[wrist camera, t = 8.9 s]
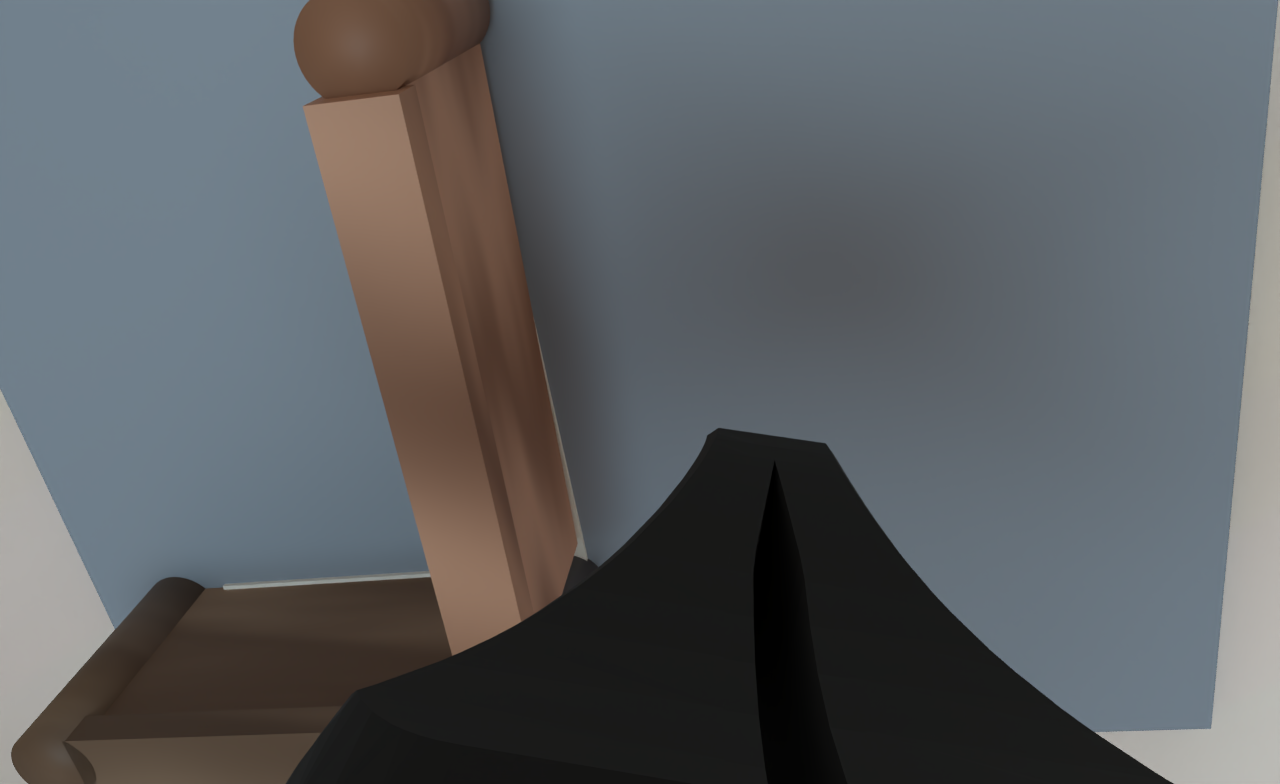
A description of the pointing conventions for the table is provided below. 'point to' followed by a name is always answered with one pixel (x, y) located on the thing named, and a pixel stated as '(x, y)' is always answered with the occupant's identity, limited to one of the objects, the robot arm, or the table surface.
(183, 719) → the dark brown wooden bar
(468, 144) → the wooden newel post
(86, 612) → the table surface
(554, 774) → the robot arm
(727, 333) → the board
